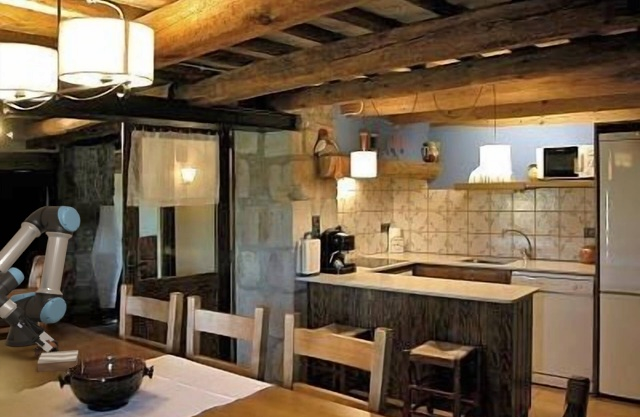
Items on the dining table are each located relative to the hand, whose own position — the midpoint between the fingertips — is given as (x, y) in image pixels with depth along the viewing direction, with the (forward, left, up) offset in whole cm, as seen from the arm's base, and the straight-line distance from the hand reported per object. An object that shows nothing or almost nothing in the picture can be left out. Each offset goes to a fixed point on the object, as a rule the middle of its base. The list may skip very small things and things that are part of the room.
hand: (51, 346), depth 260 cm
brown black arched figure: (0, -1, -4) cm, 5 cm away
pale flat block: (+16, +4, -4) cm, 17 cm away
